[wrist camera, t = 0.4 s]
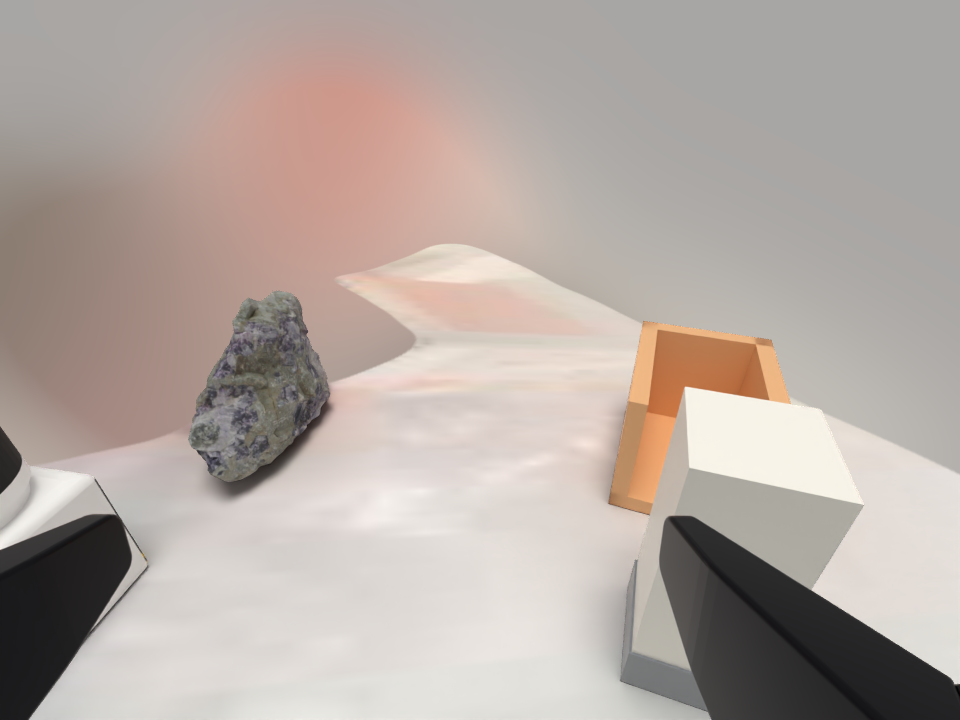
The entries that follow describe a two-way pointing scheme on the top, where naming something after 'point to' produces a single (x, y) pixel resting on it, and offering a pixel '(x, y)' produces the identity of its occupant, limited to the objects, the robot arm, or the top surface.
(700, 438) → the tall white pillar block
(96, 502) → the medicine bottle
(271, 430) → the mineral rock
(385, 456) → the top surface
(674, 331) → the chute
